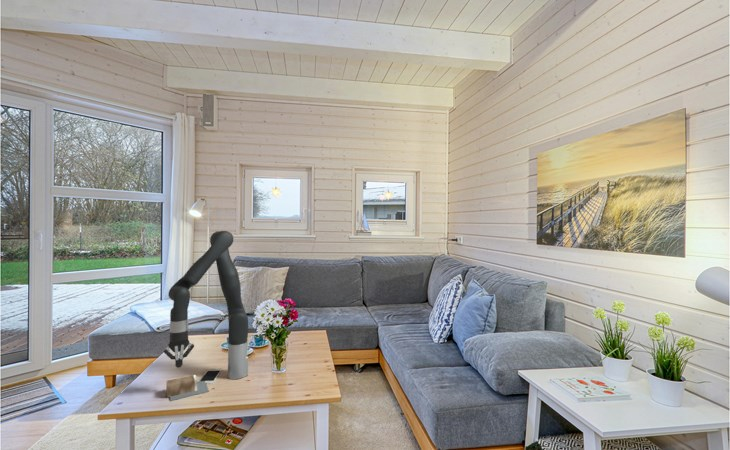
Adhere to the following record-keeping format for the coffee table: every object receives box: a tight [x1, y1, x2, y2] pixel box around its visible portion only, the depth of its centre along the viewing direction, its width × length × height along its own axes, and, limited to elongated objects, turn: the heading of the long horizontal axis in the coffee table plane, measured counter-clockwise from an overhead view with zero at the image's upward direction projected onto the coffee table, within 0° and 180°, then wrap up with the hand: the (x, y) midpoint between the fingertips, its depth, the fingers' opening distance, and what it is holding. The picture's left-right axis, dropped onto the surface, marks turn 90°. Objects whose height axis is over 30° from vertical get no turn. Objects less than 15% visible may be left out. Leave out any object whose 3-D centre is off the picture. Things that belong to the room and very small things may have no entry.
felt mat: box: [169, 380, 210, 402], centre depth 156 cm, size 16×13×1 cm
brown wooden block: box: [165, 374, 198, 398], centre depth 155 cm, size 5×6×12 cm
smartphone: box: [199, 368, 223, 385], centre depth 171 cm, size 7×16×1 cm, turn 7°
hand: (178, 367), depth 154 cm, fingers closed
